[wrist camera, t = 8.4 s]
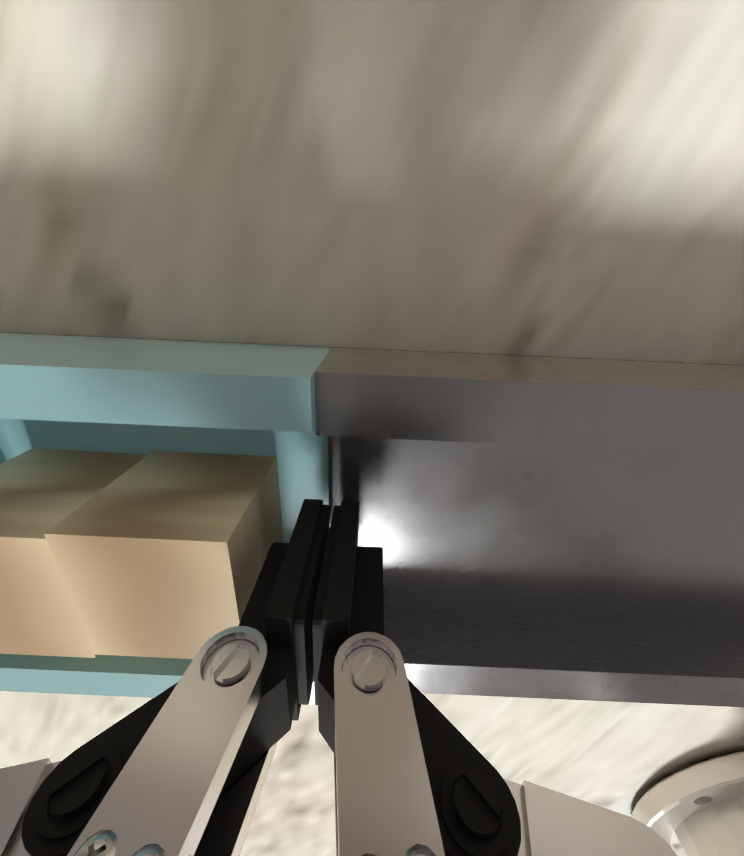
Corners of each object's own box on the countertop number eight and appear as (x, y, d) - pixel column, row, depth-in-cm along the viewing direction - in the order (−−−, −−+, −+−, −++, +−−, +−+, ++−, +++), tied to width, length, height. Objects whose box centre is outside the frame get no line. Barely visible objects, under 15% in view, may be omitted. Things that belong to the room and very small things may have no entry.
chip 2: (276, 456, 11) (227, 542, 8) (283, 551, 13) (245, 661, 9) (153, 450, 11) (43, 533, 8) (175, 546, 13) (93, 654, 9)
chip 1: (154, 454, 11) (45, 538, 8) (176, 549, 13) (95, 658, 9) (32, 448, 11) (-136, 530, 8) (69, 544, 13) (-55, 651, 9)
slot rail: (940, 374, 10) (1148, 409, 7) (759, 630, 15) (848, 711, 12) (331, 347, 10) (314, 372, 7) (333, 611, 15) (322, 688, 12)
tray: (331, 347, 10) (310, 378, 7) (333, 610, 15) (320, 705, 11) (-74, 329, 10) (-283, 351, 7) (48, 598, 15) (-45, 688, 11)
